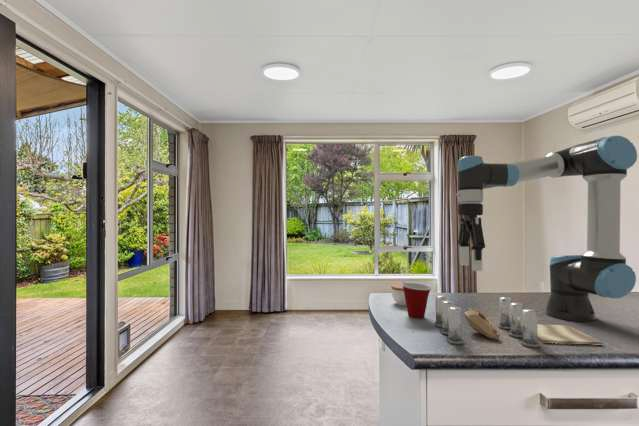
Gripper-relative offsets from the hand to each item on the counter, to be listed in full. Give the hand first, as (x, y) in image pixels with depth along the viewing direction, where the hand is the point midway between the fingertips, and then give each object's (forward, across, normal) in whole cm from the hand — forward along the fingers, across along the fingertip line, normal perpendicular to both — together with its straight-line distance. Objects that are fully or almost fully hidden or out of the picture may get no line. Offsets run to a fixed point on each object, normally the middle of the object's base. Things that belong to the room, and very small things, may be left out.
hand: (470, 268), depth 110 cm
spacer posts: (+20, +3, +2) cm, 21 cm away
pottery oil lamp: (+21, +3, +3) cm, 21 cm away
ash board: (+20, 0, +26) cm, 33 cm away
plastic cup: (+21, -14, -15) cm, 29 cm away
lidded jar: (+21, -34, -18) cm, 44 cm away
